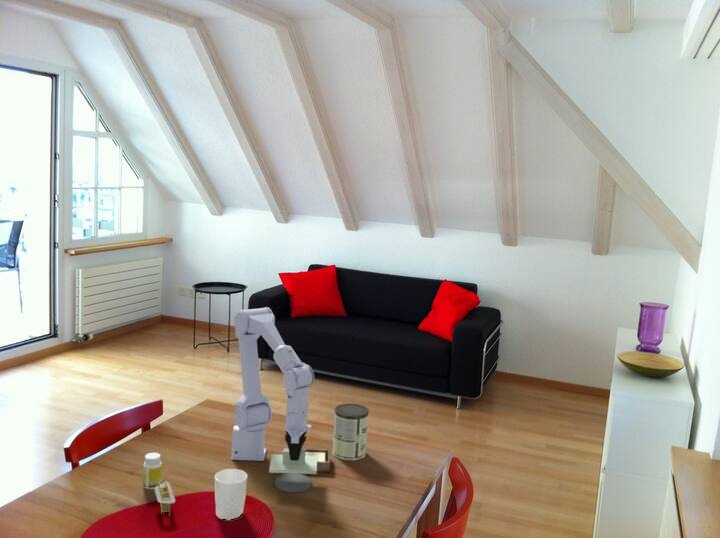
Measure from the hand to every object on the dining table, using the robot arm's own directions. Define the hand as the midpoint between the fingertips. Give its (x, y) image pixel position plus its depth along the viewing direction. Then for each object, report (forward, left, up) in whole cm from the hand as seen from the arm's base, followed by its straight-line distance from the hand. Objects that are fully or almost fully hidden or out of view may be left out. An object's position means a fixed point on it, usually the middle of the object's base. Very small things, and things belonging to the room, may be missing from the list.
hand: (294, 457), depth 192 cm
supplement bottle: (-37, -4, -8) cm, 38 cm away
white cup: (-15, -17, -8) cm, 24 cm away
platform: (-31, -16, -8) cm, 36 cm away
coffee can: (+16, +21, -8) cm, 28 cm away
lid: (0, 0, -2) cm, 2 cm away
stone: (0, 0, -8) cm, 8 cm away
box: (+4, +12, -8) cm, 15 cm away
